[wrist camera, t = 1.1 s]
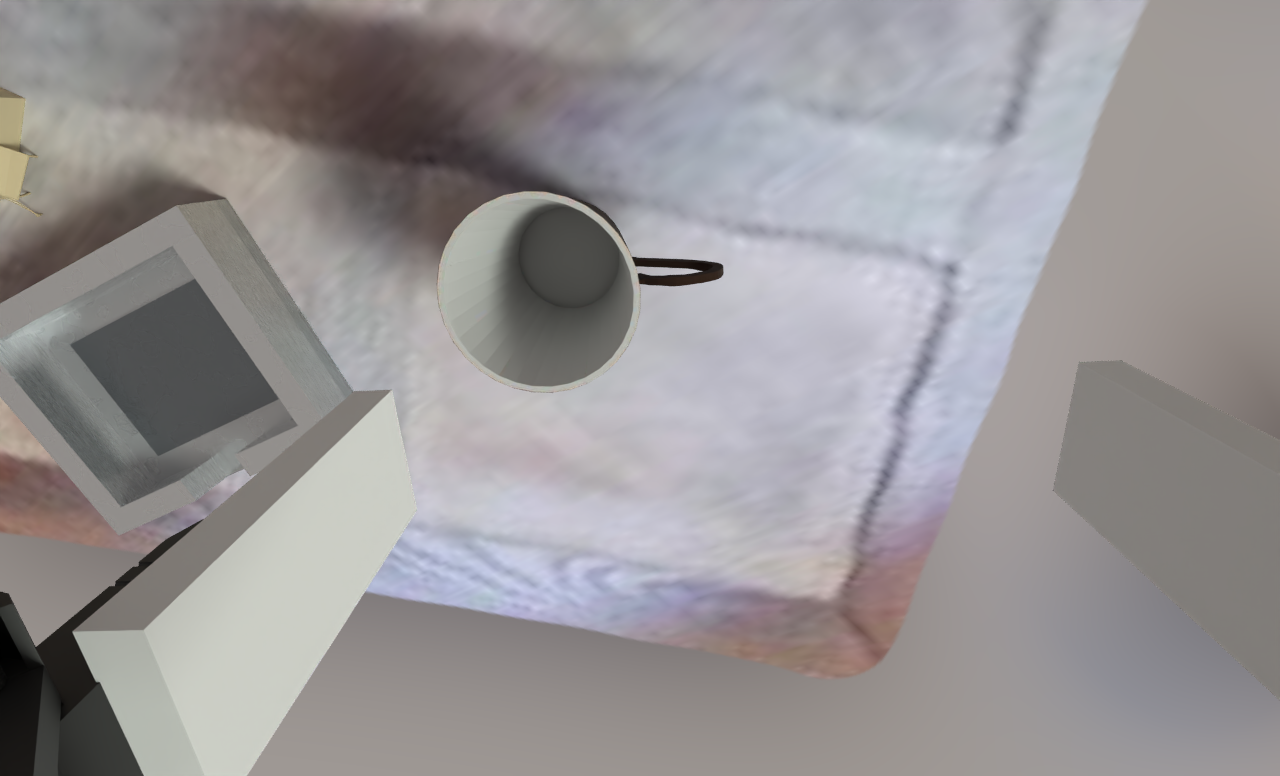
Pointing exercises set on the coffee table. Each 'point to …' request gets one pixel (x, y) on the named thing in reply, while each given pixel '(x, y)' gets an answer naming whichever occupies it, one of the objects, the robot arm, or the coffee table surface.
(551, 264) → the coffee mug
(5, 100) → the robot
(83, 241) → the coffee table surface
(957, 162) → the coffee table surface
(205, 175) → the coffee table surface
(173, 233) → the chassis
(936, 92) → the coffee table surface
